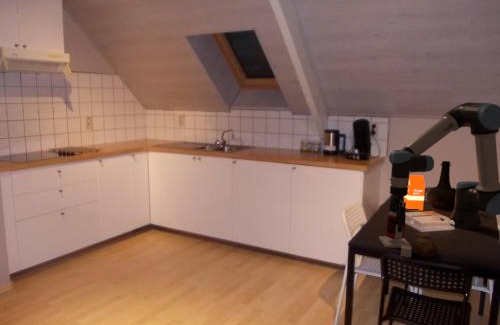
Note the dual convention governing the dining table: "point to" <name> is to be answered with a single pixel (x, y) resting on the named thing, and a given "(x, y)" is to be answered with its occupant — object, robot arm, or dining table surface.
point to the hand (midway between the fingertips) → (395, 235)
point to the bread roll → (424, 247)
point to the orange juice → (415, 192)
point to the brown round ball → (421, 236)
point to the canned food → (393, 225)
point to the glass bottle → (443, 190)
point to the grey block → (406, 251)
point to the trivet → (393, 242)
